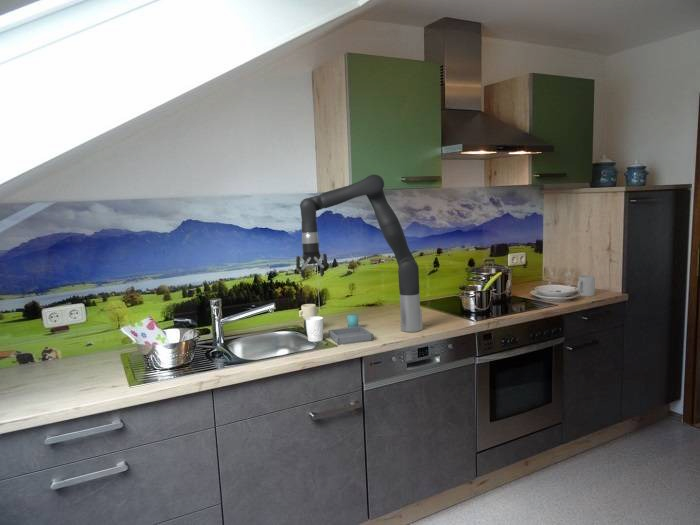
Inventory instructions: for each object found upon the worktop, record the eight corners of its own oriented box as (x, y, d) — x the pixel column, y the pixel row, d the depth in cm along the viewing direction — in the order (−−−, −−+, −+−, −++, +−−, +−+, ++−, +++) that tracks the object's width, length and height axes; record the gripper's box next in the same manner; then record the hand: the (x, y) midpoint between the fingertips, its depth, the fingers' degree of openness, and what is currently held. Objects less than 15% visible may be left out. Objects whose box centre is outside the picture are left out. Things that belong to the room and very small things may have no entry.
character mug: (315, 328, 250) (314, 302, 249) (323, 330, 245) (322, 304, 243) (296, 332, 244) (294, 306, 242) (304, 335, 238) (302, 308, 237)
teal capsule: (356, 327, 247) (356, 313, 246) (360, 330, 242) (359, 315, 242) (346, 329, 246) (345, 314, 245) (349, 331, 241) (348, 317, 240)
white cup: (326, 337, 231) (325, 316, 230) (321, 342, 224) (319, 320, 223) (310, 337, 233) (309, 316, 232) (304, 342, 226) (302, 320, 225)
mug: (584, 293, 303) (584, 275, 302) (597, 294, 296) (597, 276, 295) (571, 295, 297) (571, 277, 296) (584, 297, 290) (584, 278, 289)
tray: (361, 332, 238) (361, 326, 238) (373, 340, 223) (372, 333, 222) (328, 336, 233) (328, 330, 233) (338, 345, 218) (337, 338, 218)
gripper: (323, 240, 237) (325, 274, 239) (293, 242, 233) (296, 277, 235) (327, 241, 230) (329, 276, 232) (296, 243, 226) (299, 279, 228)
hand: (312, 277), depth 233 cm, fingers open, 8 cm apart
